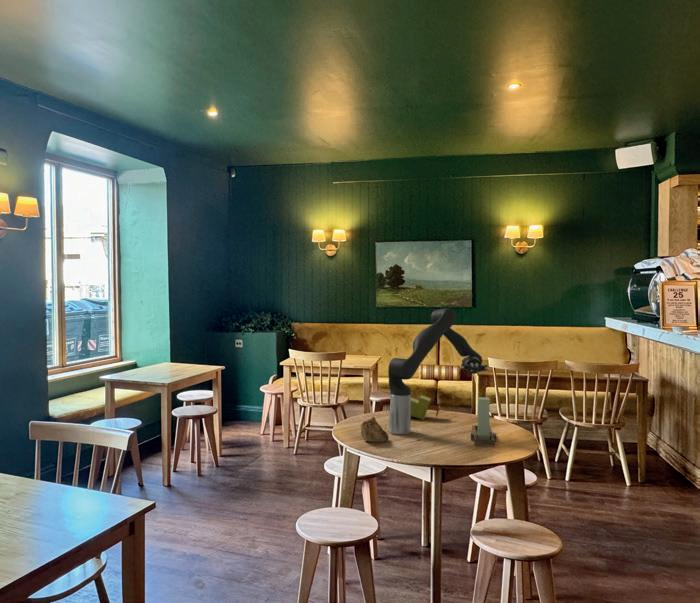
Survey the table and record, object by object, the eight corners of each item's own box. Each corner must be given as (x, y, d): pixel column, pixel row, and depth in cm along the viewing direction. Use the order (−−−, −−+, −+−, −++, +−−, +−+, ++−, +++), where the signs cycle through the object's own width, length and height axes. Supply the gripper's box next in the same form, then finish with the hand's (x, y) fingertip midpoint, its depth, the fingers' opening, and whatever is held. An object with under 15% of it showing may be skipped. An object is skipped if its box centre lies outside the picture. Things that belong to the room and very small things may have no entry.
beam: (469, 430, 231) (469, 424, 231) (492, 432, 229) (492, 426, 229) (471, 445, 208) (471, 438, 207) (497, 447, 205) (497, 440, 205)
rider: (477, 436, 219) (477, 396, 219) (488, 437, 218) (489, 397, 218) (478, 440, 213) (478, 399, 213) (489, 440, 212) (490, 399, 212)
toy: (434, 424, 259) (397, 410, 263) (441, 401, 258) (404, 388, 262) (433, 428, 250) (394, 414, 254) (440, 405, 249) (401, 391, 253)
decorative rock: (362, 444, 208) (362, 418, 208) (358, 440, 214) (358, 415, 214) (389, 442, 211) (390, 416, 211) (385, 438, 217) (385, 413, 217)
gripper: (459, 357, 252) (460, 361, 235) (487, 358, 249) (490, 362, 232) (459, 372, 252) (460, 377, 235) (487, 373, 249) (489, 378, 232)
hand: (475, 369), depth 233 cm, fingers closed
